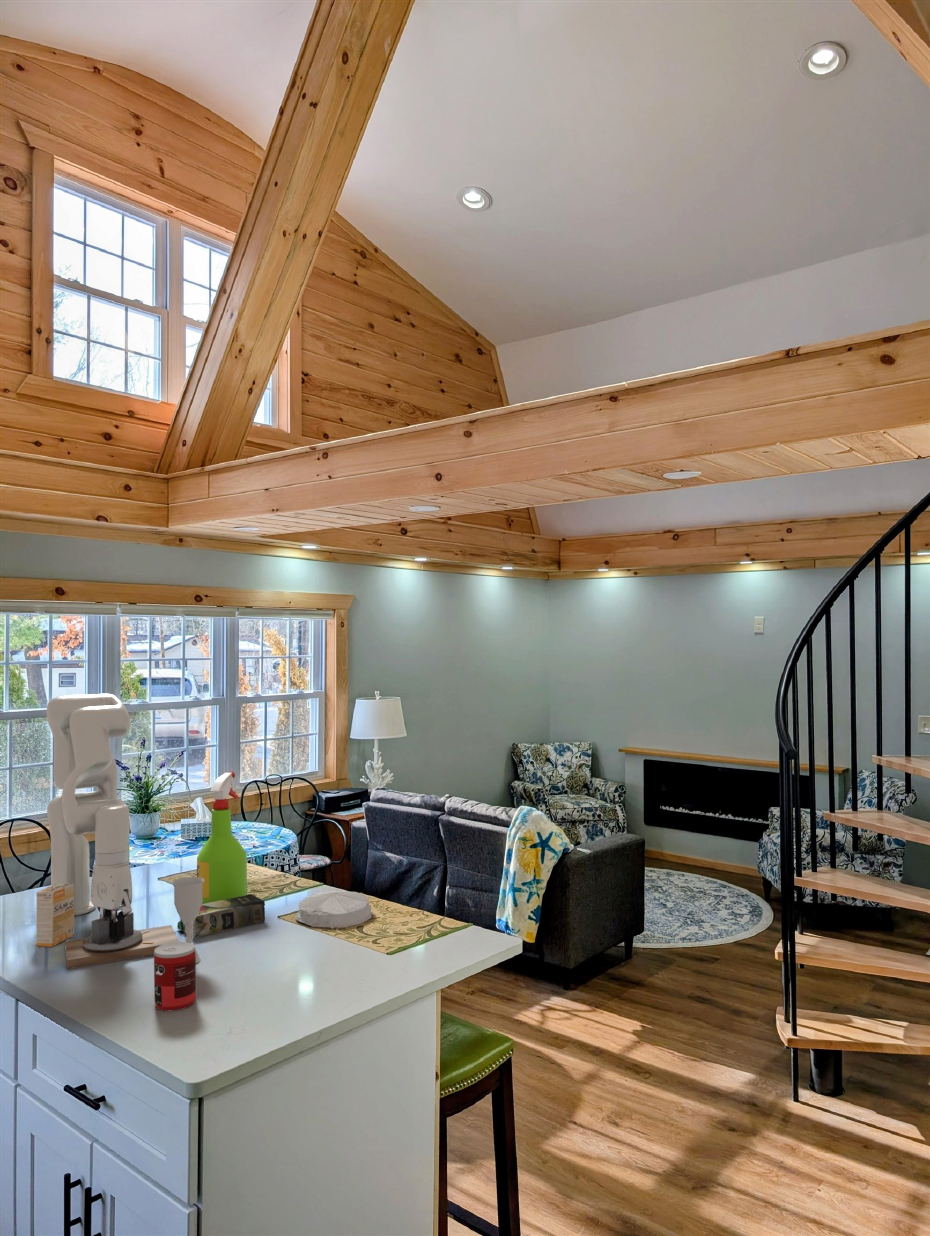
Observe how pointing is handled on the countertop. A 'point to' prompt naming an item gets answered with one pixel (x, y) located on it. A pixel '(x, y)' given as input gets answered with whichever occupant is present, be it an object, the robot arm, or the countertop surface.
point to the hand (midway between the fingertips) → (112, 935)
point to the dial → (102, 935)
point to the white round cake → (334, 909)
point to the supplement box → (55, 914)
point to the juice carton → (226, 915)
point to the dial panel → (146, 947)
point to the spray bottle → (222, 850)
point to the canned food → (174, 975)
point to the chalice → (188, 902)
